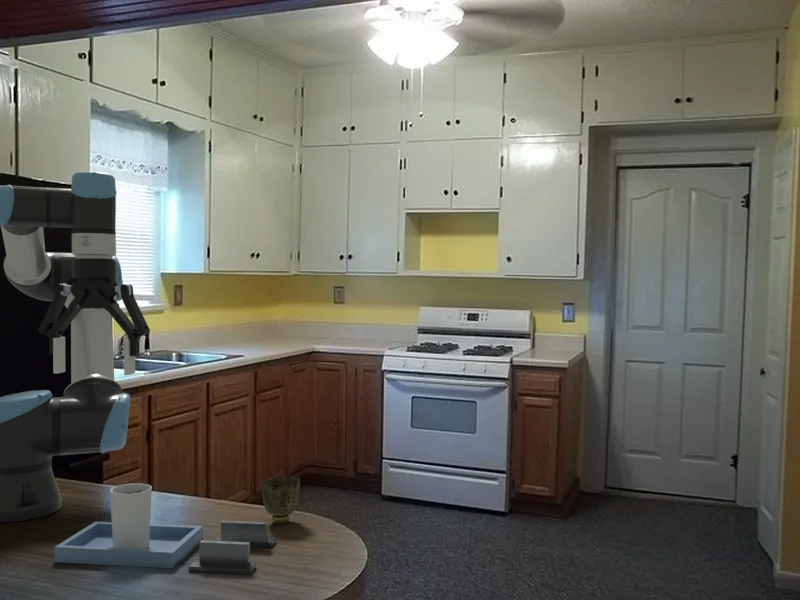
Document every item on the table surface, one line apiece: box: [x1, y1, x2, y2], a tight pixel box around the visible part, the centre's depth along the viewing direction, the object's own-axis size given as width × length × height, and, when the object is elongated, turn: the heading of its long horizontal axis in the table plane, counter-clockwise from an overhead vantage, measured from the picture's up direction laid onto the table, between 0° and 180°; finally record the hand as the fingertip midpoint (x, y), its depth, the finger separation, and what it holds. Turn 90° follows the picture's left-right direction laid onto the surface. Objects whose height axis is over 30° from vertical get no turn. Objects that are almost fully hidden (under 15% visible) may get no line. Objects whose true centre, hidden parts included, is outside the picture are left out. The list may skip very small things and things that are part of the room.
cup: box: [260, 475, 302, 525], centre depth 142 cm, size 8×7×8 cm
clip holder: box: [188, 520, 277, 576], centre depth 125 cm, size 15×10×4 cm, turn 174°
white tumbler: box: [109, 482, 153, 549], centre depth 127 cm, size 7×7×10 cm
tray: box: [54, 521, 204, 569], centre depth 127 cm, size 13×20×2 cm, turn 84°
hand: (94, 373), depth 137 cm, fingers open, 13 cm apart
